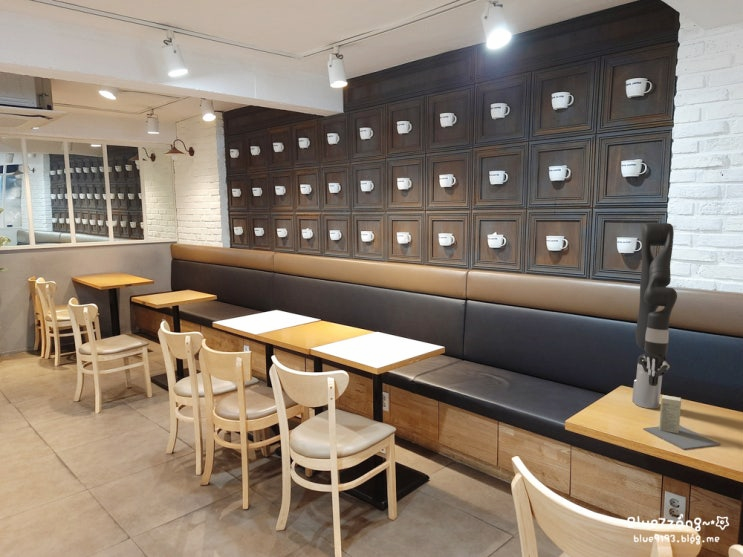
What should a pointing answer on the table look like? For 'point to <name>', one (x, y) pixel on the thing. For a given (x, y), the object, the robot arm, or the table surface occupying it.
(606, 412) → the table surface
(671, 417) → the skincare box
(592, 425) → the table surface
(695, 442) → the mat
